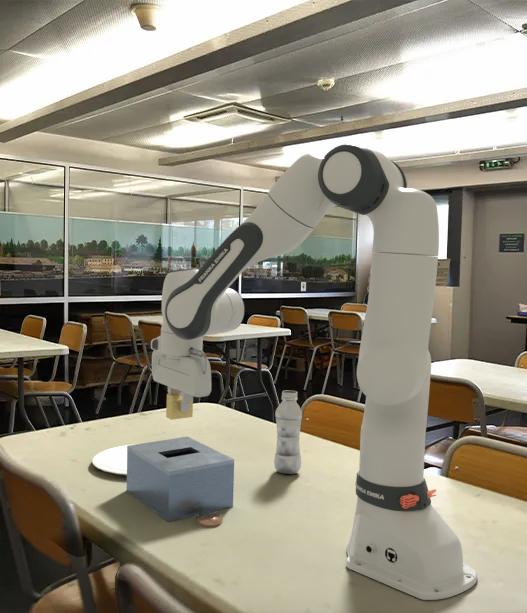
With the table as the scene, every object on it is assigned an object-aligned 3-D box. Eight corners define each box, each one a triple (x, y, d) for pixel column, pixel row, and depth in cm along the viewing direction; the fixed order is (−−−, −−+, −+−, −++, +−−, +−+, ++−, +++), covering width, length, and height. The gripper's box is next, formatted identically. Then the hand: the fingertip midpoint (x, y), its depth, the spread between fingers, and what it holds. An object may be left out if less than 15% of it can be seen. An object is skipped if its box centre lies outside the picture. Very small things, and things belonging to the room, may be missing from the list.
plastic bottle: (299, 478, 148) (301, 395, 147) (271, 475, 149) (273, 393, 148) (302, 469, 154) (305, 390, 153) (276, 467, 156) (278, 388, 154)
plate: (122, 490, 138) (123, 481, 138) (74, 461, 157) (74, 454, 156) (213, 468, 154) (213, 460, 154) (159, 444, 173) (159, 438, 173)
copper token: (227, 524, 121) (227, 518, 121) (205, 530, 118) (205, 524, 118) (213, 515, 125) (213, 510, 125) (192, 521, 122) (192, 515, 122)
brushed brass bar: (192, 417, 133) (193, 393, 132) (171, 419, 130) (172, 396, 129) (186, 414, 135) (187, 391, 134) (166, 417, 132) (166, 393, 131)
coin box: (233, 506, 129) (234, 459, 129) (168, 521, 121) (169, 471, 120) (186, 478, 146) (187, 436, 145) (126, 490, 137) (127, 445, 136)
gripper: (220, 351, 125) (217, 418, 125) (172, 339, 141) (170, 399, 142) (192, 352, 121) (190, 422, 122) (147, 340, 137) (145, 401, 138)
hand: (179, 409), depth 132 cm, fingers closed on brushed brass bar, 2 cm apart
